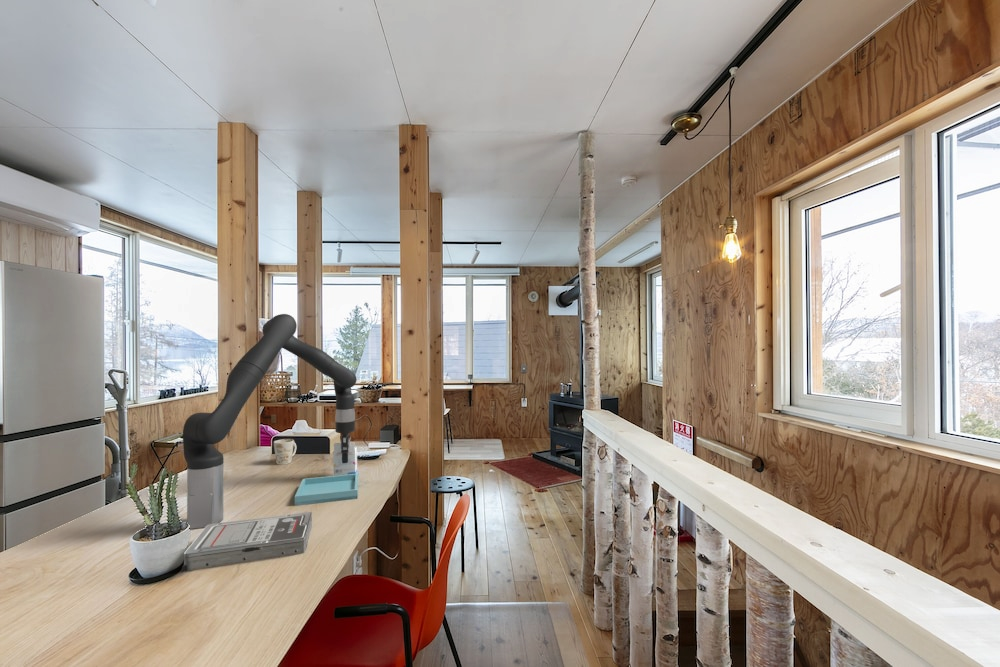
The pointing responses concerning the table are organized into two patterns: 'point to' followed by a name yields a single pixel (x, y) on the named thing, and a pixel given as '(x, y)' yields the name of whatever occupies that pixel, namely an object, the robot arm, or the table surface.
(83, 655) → the table surface
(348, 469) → the ink box
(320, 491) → the tray
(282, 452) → the mug
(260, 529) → the hard drive
